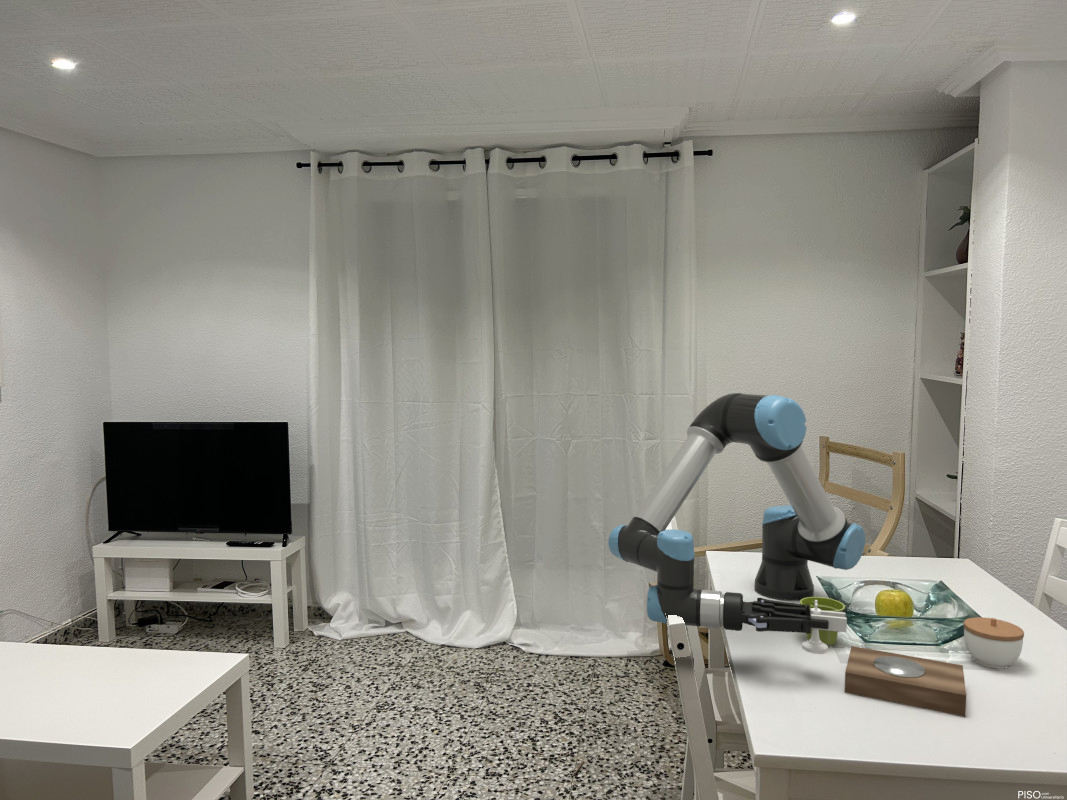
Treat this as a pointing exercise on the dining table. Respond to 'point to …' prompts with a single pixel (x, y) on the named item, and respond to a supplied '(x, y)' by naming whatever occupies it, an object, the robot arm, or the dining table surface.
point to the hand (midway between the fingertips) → (845, 622)
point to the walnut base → (906, 680)
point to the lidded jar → (993, 641)
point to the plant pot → (824, 605)
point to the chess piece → (815, 638)
